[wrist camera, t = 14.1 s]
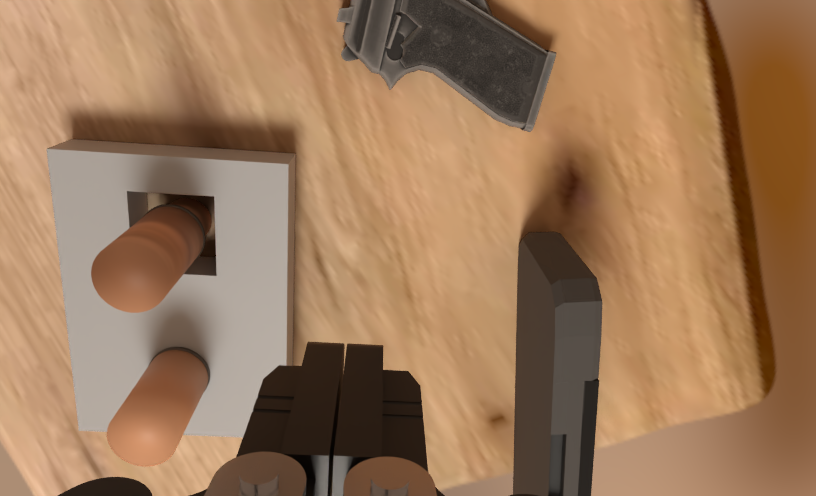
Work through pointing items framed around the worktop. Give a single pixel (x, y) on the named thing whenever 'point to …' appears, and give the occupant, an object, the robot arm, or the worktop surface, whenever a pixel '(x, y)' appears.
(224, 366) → the jig board
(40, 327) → the worktop surface
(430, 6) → the handgun
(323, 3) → the worktop surface
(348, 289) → the worktop surface
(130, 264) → the cherry peg
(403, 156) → the worktop surface
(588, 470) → the handheld gaming console
